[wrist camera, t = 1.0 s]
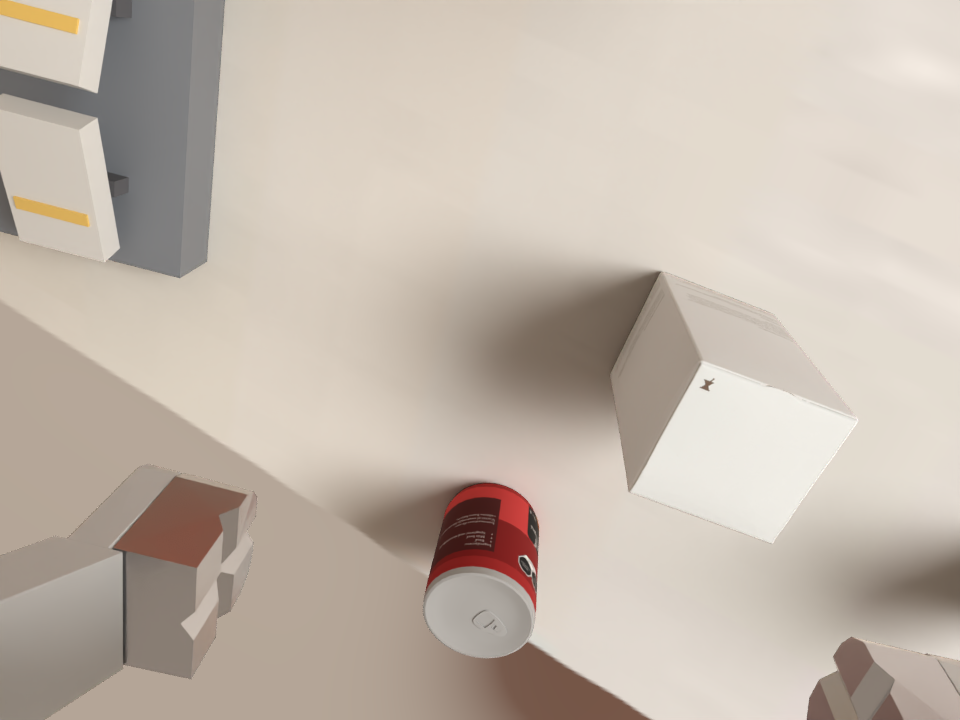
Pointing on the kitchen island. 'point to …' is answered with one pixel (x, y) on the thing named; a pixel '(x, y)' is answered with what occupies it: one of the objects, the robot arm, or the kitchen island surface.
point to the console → (150, 127)
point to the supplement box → (722, 410)
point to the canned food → (484, 573)
